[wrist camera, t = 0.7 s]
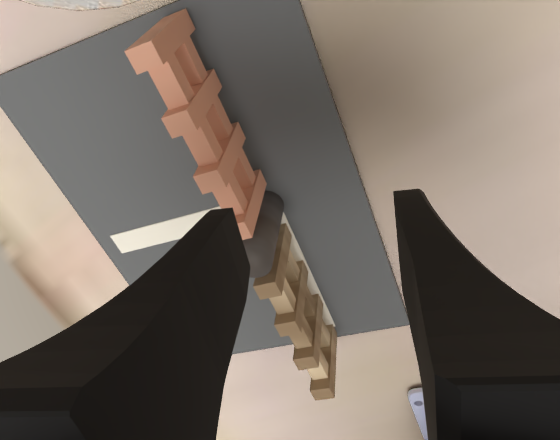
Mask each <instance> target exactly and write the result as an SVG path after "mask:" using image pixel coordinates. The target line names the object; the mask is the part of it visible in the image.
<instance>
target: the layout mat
mask: <svg viewBox="0 0 560 440" xmlns="http://www.w3.org/2000/svg"><path fill="white" fill-rule="evenodd" d="M185 8H186V9H187V12H188V14H189V16H190V18H191V20H192V22H193V25H194V27H195V30H194V31H193V33H192V34H191V35H190V38H191V40H192V42H193V44H194V46H195V48H196V50H197V52H198V55H199V57H200V59H201V61H202V63H203V65H204V67H205V69H206V71H208V70H211V69H213V68H214V70H215V72H216V75H217V77H218V79H219V81H220V83H221V85H222V88H221V90H220V92H219V93H218V97H219V99H220V101H221V103H222V106H223V108H224V110H225V112H226V114H227V116H228V118H229V121H230V123H231V124H232V123H235V122H239V124H240V127H241V129H242V131H243V133H244V135H245V137H246V139H245V141H244V144H243V146H242V148H243V150H244V152H245V155H246V157H247V159H248V161H249V163H250V165H251V167H252V169H253V171H255V170H258V169H260V170H261V172H262V174H263V177H264V179H265V181H266V183H267V185H266V189H265V191H272V192H274V193H276V194H278V195H279V196H280V197H281V198H282V200H283V202H284V210H283V215H282V220H281V224H284V223H286V224H287V226H288V228H289V231H290V233H291V235H292V238H291V244H290V250H291V252H292V254H293V257H294V259H295V261H301V260H303V261H304V263H305V265H306V268H307V270H308V279H307V286H308V289H309V291H310V293H311V295H314V294H319V296H320V298H321V300H322V302H323V316H322V318H323V320H324V323H325V325H331V324H333V326H334V328H335V330H336V332H337V337H340V336H346V335H352V334H358V333H364V332H370V331H376V330H382V329H388V328H394V327H400V326H406V325H410V324H409V319H408V315H407V312H406V310H405V307H404V304H403V301H402V298H401V295H400V292H399V289H398V286H397V283H396V280H395V277H394V275H393V272H392V269H391V266H390V263H389V260H388V257H387V254H386V251H385V248H384V245H383V242H382V240H381V237H380V234H379V231H378V228H377V225H376V222H375V219H374V216H373V213H372V210H371V207H370V205H369V202H368V199H367V196H366V193H365V190H364V187H363V184H362V181H361V178H360V175H359V172H358V170H357V167H356V164H355V161H354V158H353V155H352V152H351V149H350V146H349V143H348V140H347V137H346V134H345V132H344V129H343V126H342V123H341V120H340V117H339V114H338V111H337V108H336V105H335V102H334V99H333V97H332V94H331V91H330V88H329V85H328V82H327V79H326V76H325V73H324V70H323V67H322V64H321V62H320V59H319V56H318V53H317V50H316V47H315V44H314V41H313V38H312V35H311V32H310V29H309V27H308V24H307V21H306V18H305V15H304V12H303V9H302V6H301V3H300V0H178V1H175V2H173V3H171V4H168V5H166V6H163V7H161V8H159V9H156V10H154V11H151V12H149V13H147V14H144V15H142V16H140V17H137V18H135V19H132V20H130V21H128V22H125V23H123V24H120V25H118V26H116V27H113V28H111V29H109V30H106V31H104V32H101V33H99V34H97V35H94V36H92V37H89V38H87V39H85V40H82V41H80V42H78V43H75V44H73V45H70V46H68V47H66V48H63V49H61V50H58V51H56V52H54V53H51V54H49V55H46V56H44V57H42V58H39V59H37V60H35V61H32V62H30V63H27V64H25V65H23V66H20V67H18V68H15V69H13V70H11V71H8V72H6V73H4V74H1V75H0V107H1V108H2V109H3V111H4V112H5V114H6V115H7V116H8V118H9V119H10V120H11V122H12V123H13V125H14V126H15V127H16V129H17V130H18V132H19V133H20V134H21V136H22V137H23V139H24V140H25V141H26V143H27V144H28V145H29V147H30V148H31V150H32V151H33V152H34V154H35V155H36V157H37V158H38V159H39V161H40V162H41V163H42V165H43V166H44V168H45V169H46V170H47V172H48V173H49V175H50V176H51V177H52V179H53V180H54V181H55V183H56V184H57V186H58V187H59V188H60V190H61V191H62V193H63V194H64V195H65V197H66V198H67V199H68V201H69V202H70V204H71V205H72V206H73V208H74V209H75V211H76V212H77V213H78V215H79V216H80V218H81V219H82V220H83V222H84V223H85V224H86V226H87V227H88V229H89V230H90V231H91V233H92V234H93V236H94V237H95V238H96V240H97V241H98V242H99V244H100V245H101V247H102V248H103V249H104V251H105V252H106V254H107V255H108V256H109V258H110V259H111V260H112V262H113V263H114V265H115V266H116V267H117V269H118V270H119V272H120V273H121V274H122V276H123V277H124V279H125V280H126V281H127V283H128V284H129V285H131V284H132V283H133V282H134V281H136V280H137V279H138V278H139V277H140V276H141V275H143V274H144V273H145V272H146V271H147V270H148V269H149V268H150V267H151V266H153V265H154V264H155V263H156V262H157V261H158V260H159V259H160V258H162V257H163V256H164V255H165V254H166V253H167V252H168V251H169V250H170V249H171V248H172V247H173V246H174V245H175V244H176V243H177V242H178V241H179V240H180V239H181V238H182V237H183V236H184V235H185V234H186V233H187V232H188V231H189V230H190V229H191V228H192V227H193V226H194V225H195V224H196V223H197V222H198V221H199V220H200V219H201V218H202V217H203V216H204V215H205V214H206V213H207V212H209V211H210V210H213V209H221V207H220V205H219V204H218V202H217V200H216V198H215V196H214V194H213V192H210V193H206V194H202V193H201V191H200V189H199V187H198V185H197V183H196V182H195V180H194V178H193V175H194V173H195V171H196V169H197V167H198V164H197V162H196V160H195V159H194V157H193V155H192V153H191V151H190V149H189V147H188V145H187V144H186V142H185V140H184V138H183V136H179V137H176V138H173V139H172V138H171V136H170V134H169V132H168V130H167V129H166V127H165V125H164V123H163V121H162V119H161V118H162V116H163V115H164V114H165V112H166V111H167V110H168V108H167V106H166V104H165V102H164V101H163V99H162V97H161V95H160V93H159V91H158V89H157V87H156V86H155V84H154V82H153V80H152V78H151V76H150V74H149V72H148V71H146V72H143V73H140V74H138V75H137V74H136V72H135V70H134V68H133V66H132V65H131V63H130V61H129V59H128V57H127V56H126V54H125V52H124V51H125V50H126V49H127V48H128V47H130V46H131V45H132V44H133V43H134V42H135V41H137V40H138V39H139V38H140V37H141V36H142V35H144V34H145V33H146V32H147V31H148V30H149V29H151V28H152V27H153V26H154V25H155V24H156V23H157V22H159V21H160V20H161V19H162V18H164V17H166V16H168V15H171V14H173V13H176V12H178V11H181V10H183V9H185ZM254 280H255V278H251V277H249V285H248V293H247V300H246V304H245V308H244V311H243V315H242V319H241V323H240V326H239V330H238V334H237V337H236V341H235V345H234V348H233V352H232V354H237V353H243V352H249V351H255V350H261V349H267V348H273V347H279V346H285V345H291V344H293V342H292V340H291V338H290V337H289V336H283V337H280V335H279V333H278V331H277V329H276V328H275V326H274V323H275V317H276V310H275V308H274V307H273V305H272V303H271V301H270V299H269V298H267V299H262V300H260V298H259V297H258V295H257V293H256V291H255V289H254V287H253V284H254Z"/></svg>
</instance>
